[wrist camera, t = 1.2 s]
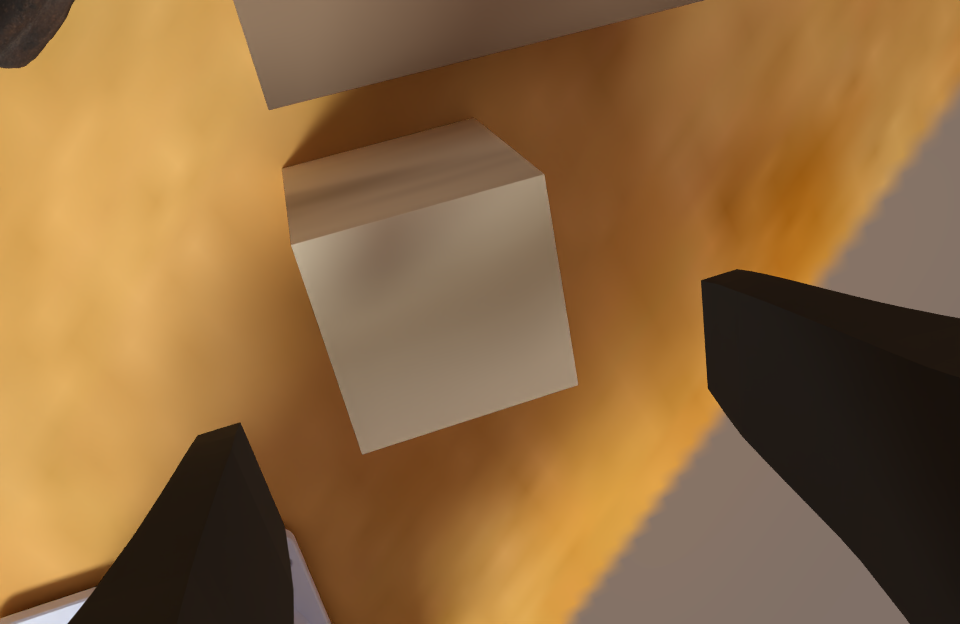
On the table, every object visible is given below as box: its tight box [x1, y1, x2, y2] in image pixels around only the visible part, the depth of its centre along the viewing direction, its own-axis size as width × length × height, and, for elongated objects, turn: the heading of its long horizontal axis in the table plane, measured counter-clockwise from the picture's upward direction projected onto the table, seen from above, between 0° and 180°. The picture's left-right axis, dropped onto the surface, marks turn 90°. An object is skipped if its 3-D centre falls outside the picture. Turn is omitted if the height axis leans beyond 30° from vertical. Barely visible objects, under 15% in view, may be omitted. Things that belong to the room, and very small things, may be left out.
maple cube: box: [282, 118, 578, 455], centre depth 16 cm, size 4×4×5 cm
